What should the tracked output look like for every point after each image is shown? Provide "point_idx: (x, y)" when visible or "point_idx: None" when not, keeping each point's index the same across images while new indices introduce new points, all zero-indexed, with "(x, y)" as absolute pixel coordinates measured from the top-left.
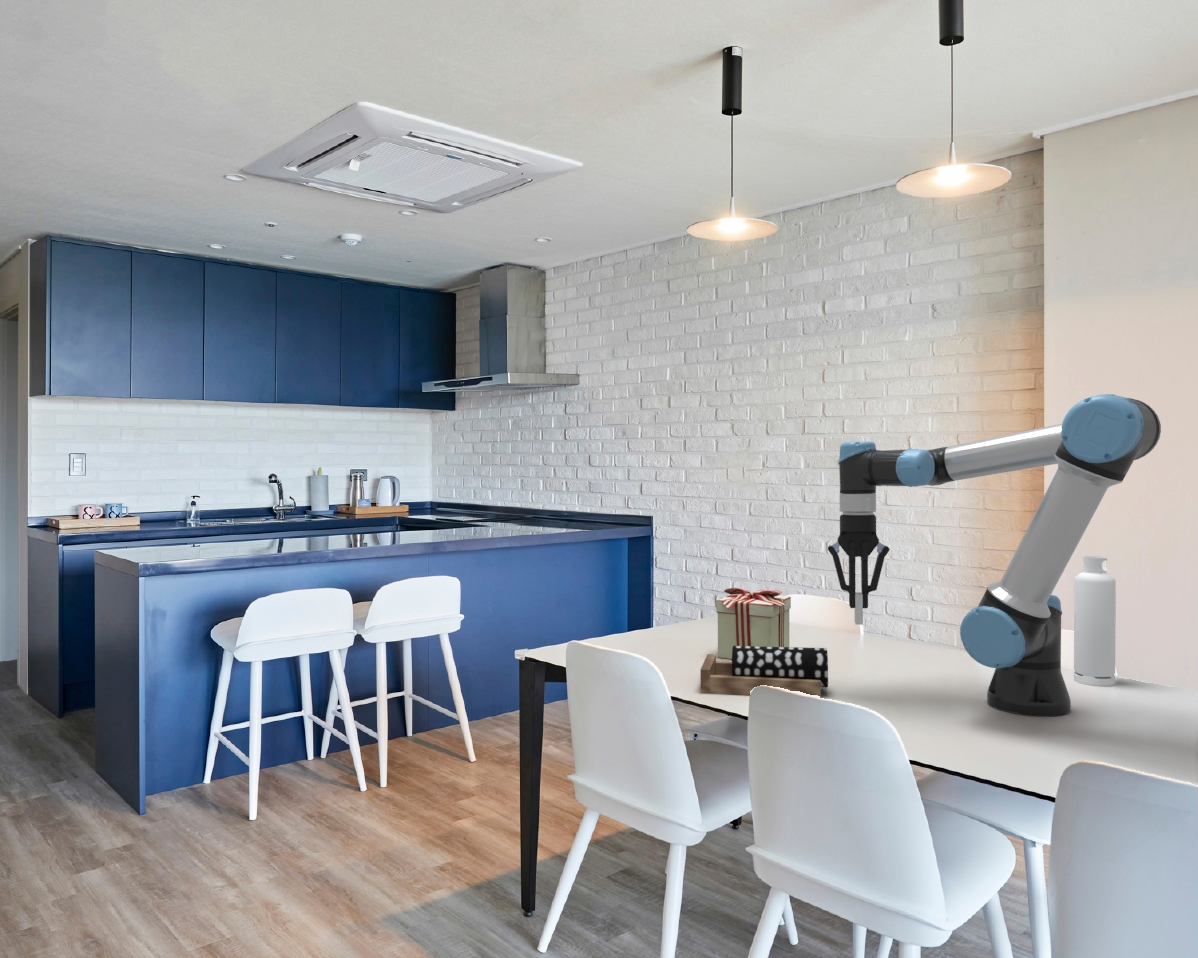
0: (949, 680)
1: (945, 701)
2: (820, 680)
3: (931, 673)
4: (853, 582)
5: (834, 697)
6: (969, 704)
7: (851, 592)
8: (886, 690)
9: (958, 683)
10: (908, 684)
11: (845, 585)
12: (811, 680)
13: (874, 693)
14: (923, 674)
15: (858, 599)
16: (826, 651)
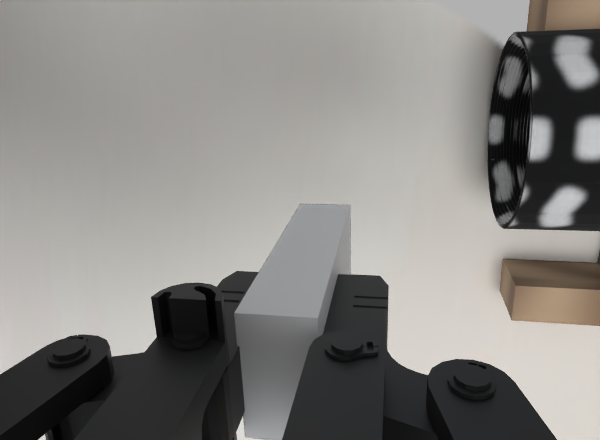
0: None
1: (81, 75)
2: (545, 24)
3: None
4: (318, 425)
5: (466, 37)
6: (12, 52)
7: (363, 336)
8: (263, 190)
9: (52, 315)
10: None
11: (449, 405)
12: (593, 12)
13: (306, 137)
14: None
15: (294, 286)
16: (537, 104)
